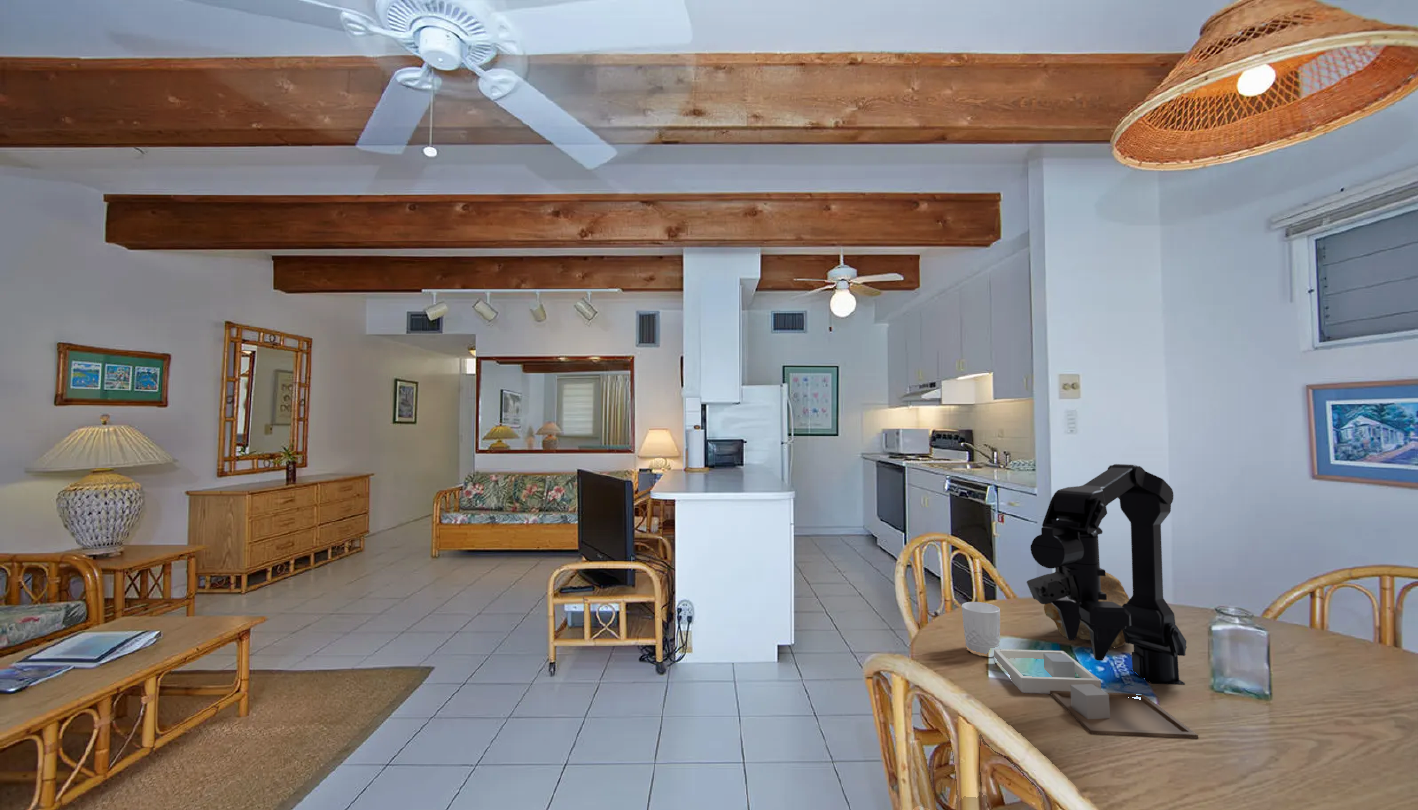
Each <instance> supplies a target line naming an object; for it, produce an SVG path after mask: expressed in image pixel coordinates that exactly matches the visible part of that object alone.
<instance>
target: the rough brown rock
mask: <svg viewBox="0 0 1418 810" xmlns="http://www.w3.org/2000/svg"><path fill="white" fill-rule="evenodd" d="M1105 575H1106V576H1100V583H1101V592H1103V593H1105V594H1106V595H1107V600H1099V601H1104V602H1114V603H1116V604H1118V605H1120V606H1123V604H1124V603H1125V604H1126V603H1127V602H1128V601H1129V599H1130V597H1129V595H1128V594H1127V592H1126V591H1125V587H1124V586H1123V585H1122V582H1121V581H1120V580H1119V579H1118V578H1117V577H1115V576H1114V575H1113V574H1111V573H1108V572H1106V571H1105ZM1043 605H1044V606H1043V611H1044V614H1045V616H1046V617H1048V618H1049V619H1051V620H1052V621H1053V622H1054V624H1055V625H1056V628H1057V630H1058V632H1059V633H1060V635H1061V636H1062V637H1064V636H1065V637H1064V638H1066V637H1067V635H1066V633H1065V630H1064V627H1063V624H1062V621H1061V618H1060V615H1059V613H1058V610H1057V608H1056V607H1055V606H1054V605H1053V604H1052V603H1049V604H1043ZM1081 619H1082V618H1081ZM1076 638H1080V639H1081V640H1084V641H1085V640H1087V641H1091V639H1090V633H1089V629H1088V628H1087V627H1086V626H1085V625H1084V624H1083V623H1082V622H1081V621H1080V625H1079V629H1078V633H1077V636H1076ZM1125 644H1126V642H1125V638H1124V634H1123V631H1122V630H1121V632H1120V633H1119V634H1118V636H1117V637H1116V639H1115V640H1114V642H1113V643H1112V645H1111V647H1115V648H1114V649H1116V648H1119V647H1122V646H1124V645H1125ZM1111 647H1110V648H1111Z"/></svg>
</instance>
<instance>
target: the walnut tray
mask: <svg viewBox="0 0 1418 810" xmlns="http://www.w3.org/2000/svg"><path fill="white" fill-rule="evenodd" d="M1106 693H1107V694H1109V707H1110V718H1103V719H1087V718H1085V717H1084V716H1083V715H1081V714H1080V713H1078V712H1077V711H1075V710H1074V709H1073V708H1072V706H1071V691H1050V694H1049V695H1051V696H1052V697H1053V698H1054V699H1055V700H1056V701H1057V702H1058V703H1059V704H1060V705H1061V706H1062V707H1063V708H1064V709H1065V710H1066V711H1067V712H1068V713H1069V714H1070V715H1071V716H1072V717H1073V718H1074V719H1075V720H1076V721H1077V722H1078V723H1079V724H1080V725H1082V727H1084V729H1086V730H1087V731H1088V732H1089V734H1091V735H1109V736H1110V735H1111V736H1112V735H1114V736H1132V737H1133V736H1136V737H1154V738H1155V737H1156V738H1157V737H1160V738H1185V739H1199V734H1198V733H1196V732H1195V731H1194V730H1192V729H1191V728H1190V727H1188V726H1187V725H1185V724H1184V723H1182V722H1181V721H1180V720H1179V719H1177V718H1176V717H1175V716H1173V715H1171V714H1170V713H1169V712H1168V711H1167V710H1165V709H1163V707H1161V706H1159V705H1158V704H1157V703H1156V702H1154V701H1152V700H1151V698H1149V697H1148V696H1146V695H1145V694H1143V693H1141V694H1142V695H1136V694H1137V693H1131V692H1130V693H1128V692H1127V693H1126V692H1106ZM1136 696H1138V697H1141V700H1139V699H1134V698H1132V697H1136ZM1128 697H1129V698H1128Z"/></svg>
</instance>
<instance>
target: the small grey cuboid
mask: <svg viewBox="0 0 1418 810" xmlns="http://www.w3.org/2000/svg"><path fill="white" fill-rule="evenodd" d="M1070 688H1071V706H1072V708H1073V709H1074V710H1075V711H1077V712H1078V713H1080V714H1081V715H1083V716H1084V717H1085V718H1087V719H1103V718H1110V707H1109V694H1107V693H1108V692H1107V691H1104V690H1102V688H1101V689H1099V688H1098V687H1096V686H1094V685H1093V684H1080V685H1070Z"/></svg>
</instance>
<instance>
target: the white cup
mask: <svg viewBox="0 0 1418 810" xmlns="http://www.w3.org/2000/svg"><path fill="white" fill-rule="evenodd" d="M1000 610H1001V609H1000V607H999V606H996V605H995V604H991V603H987V602H980V601H968V602H963V603H962V604H961V612H962V623H963V624H962V625H963V631H964V632H963V633H964V638H965V647H966V646H967V647H968V648H969V649H971V650H973V651H976V652H980V653H984V654H987V653H988V652H989V650H990V648H995V647H998V646H999V647H1000V640H1001V639H1000V638H1001V637H1000V634H1001V611H1000Z"/></svg>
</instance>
